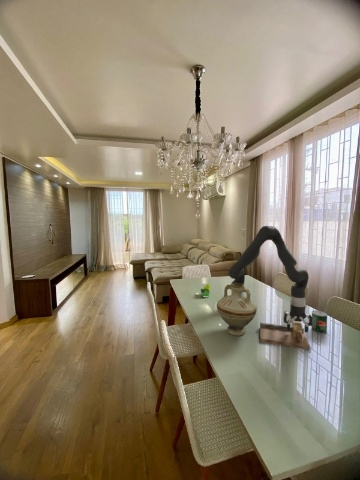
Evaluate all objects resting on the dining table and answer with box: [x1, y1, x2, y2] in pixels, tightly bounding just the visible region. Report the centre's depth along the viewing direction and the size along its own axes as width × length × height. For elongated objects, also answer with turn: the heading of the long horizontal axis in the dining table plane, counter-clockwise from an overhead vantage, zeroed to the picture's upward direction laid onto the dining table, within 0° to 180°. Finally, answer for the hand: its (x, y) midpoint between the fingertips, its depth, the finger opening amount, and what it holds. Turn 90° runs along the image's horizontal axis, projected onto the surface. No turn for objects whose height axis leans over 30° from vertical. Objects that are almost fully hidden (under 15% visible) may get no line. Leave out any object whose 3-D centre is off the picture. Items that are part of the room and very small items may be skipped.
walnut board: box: [259, 322, 311, 350], centre depth 122 cm, size 24×16×4 cm, turn 70°
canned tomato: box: [311, 310, 328, 335], centre depth 128 cm, size 8×8×11 cm
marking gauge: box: [291, 321, 303, 342], centre depth 118 cm, size 4×12×7 cm, turn 161°
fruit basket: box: [200, 283, 211, 297], centre depth 193 cm, size 11×9×11 cm
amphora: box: [216, 283, 258, 337], centre depth 129 cm, size 24×24×30 cm
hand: (297, 330), depth 121 cm, fingers open, 8 cm apart
